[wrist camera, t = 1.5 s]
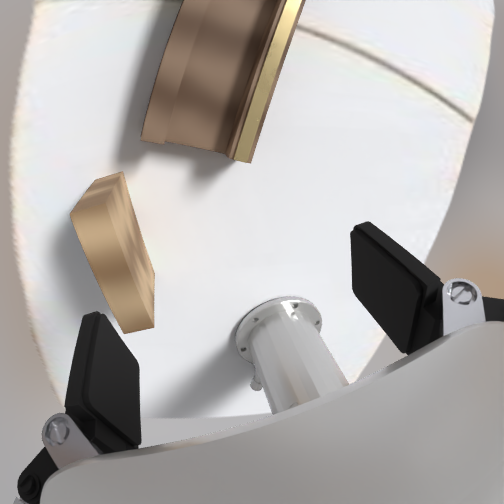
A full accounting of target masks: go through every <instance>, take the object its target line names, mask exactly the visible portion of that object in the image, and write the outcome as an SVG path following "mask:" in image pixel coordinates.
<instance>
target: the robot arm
mask: <svg viewBox="0 0 504 504" xmlns="http://www.w3.org/2000/svg"><path fill="white" fill-rule="evenodd" d="M350 238H351V261H352V289H353V292H354V294H355V296H356V297H357V298H358V300H359V301H360V302H361V303H362V304H363V306H364V307H365V308H366V309H367V310H368V312H369V313H370V314H371V315H372V317H373V318H374V319H375V320H376V322H377V323H378V324H379V325H380V326H381V328H382V329H383V330H384V331H385V333H386V334H387V335H388V336H389V337H390V339H391V340H392V341H393V343H394V344H395V345H396V346H397V348H398V349H399V350H400V351H401V352H402V353H406V354H407V355H408V356H406V357H404V358H402V359H400V360H398V361H396V362H394V363H393V364H391V365H389V366H387V367H385V368H383V369H381V370H379V371H377V372H375V373H373V374H371V375H369V376H367V377H365V378H363V379H360V380H358V381H356V382H354V383H352V384H350V385H349V383H348V381H347V380H346V378H345V376H344V375H343V373H342V371H341V370H340V368H339V366H338V365H337V363H336V361H335V360H334V358H333V356H332V354H331V353H330V351H329V349H328V348H327V346H326V344H325V343H324V341H323V339H322V338H321V336H320V334H319V333H320V331H321V326H322V318H321V315H320V313H319V311H318V309H317V308H316V307H315V306H314V304H313V303H311V302H310V301H308V300H306V299H303V298H299V297H283V298H278V299H274V300H271V301H268V302H266V303H264V304H262V305H260V306H258V307H257V308H256V309H254V310H253V311H251V312H250V313H249V314H248V315H247V316H246V317H245V318H244V319H243V321H242V322H241V323H240V325H239V327H238V329H237V332H236V336H235V340H236V346H237V349H238V351H239V353H240V355H241V356H242V357H243V358H244V359H245V360H247V361H248V362H251V363H253V364H254V366H255V376H254V377H253V379H252V381H251V384H250V386H251V388H252V389H253V390H255V391H259V390H261V389H262V387H263V389H264V392H265V395H266V397H267V400H268V403H269V406H270V408H271V411H272V414H273V415H271V416H268V417H265V418H262V419H259V420H256V421H253V422H249V423H246V424H243V425H239V426H236V427H233V428H229V429H226V430H222V431H218V432H215V433H211V434H207V435H203V436H199V437H194V438H190V439H186V440H181V441H177V442H172V443H166V444H161V445H156V446H151V447H145V448H140V449H138V445H140V444H141V424H140V423H141V422H140V383H139V364H138V362H137V360H136V358H135V357H134V356H133V354H132V353H131V352H130V350H129V349H128V347H127V346H126V345H125V343H124V342H123V340H122V339H121V338H120V336H119V335H118V333H117V332H116V330H115V329H114V327H113V326H112V324H111V323H110V321H109V320H108V318H107V317H106V316H105V314H100V313H99V312H98V311H96V312H93V313H90V314H87V315H84V316H83V318H82V322H81V326H80V330H79V334H78V338H77V343H76V347H75V351H74V356H73V361H72V366H71V371H70V376H69V381H68V387H67V393H66V399H65V406H64V407H65V408H66V412H65V414H64V413H58V414H55V415H53V416H52V417H50V418H49V419H48V420H47V422H46V423H45V425H44V427H43V430H42V441H43V443H44V445H45V447H44V448H43V449H42V450H41V451H40V453H39V454H38V455H37V456H36V457H35V458H34V459H33V461H32V462H31V463H30V464H29V465H28V466H27V468H25V470H24V471H23V472H22V473H21V475H20V477H19V479H18V486H17V488H18V493H19V495H20V499H19V498H17V497H16V499H15V501H14V504H504V299H497V298H489V297H482V295H481V292H480V289H479V288H478V287H477V286H476V285H475V284H474V283H472V282H471V281H469V280H466V279H461V278H457V279H452V280H449V281H448V282H446V283H445V285H444V284H443V283H442V282H441V281H440V278H439V277H438V276H437V275H435V274H434V273H433V272H432V271H431V270H430V269H429V268H427V267H426V266H425V265H424V264H423V263H421V262H420V261H419V260H418V259H417V258H415V257H414V256H413V255H412V254H410V253H409V252H408V251H407V250H405V249H404V248H403V247H402V246H400V245H399V244H398V243H397V242H395V241H394V240H393V239H392V238H390V237H389V236H388V235H386V234H385V233H384V232H383V231H381V230H380V229H379V228H377V227H376V226H375V225H373V224H372V223H371V222H369V221H368V222H364V223H361V224H358V225H356V226H354V229H353V231H351V233H350Z"/></svg>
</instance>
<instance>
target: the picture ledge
mask: <svg viewBox="0 0 504 504" xmlns="http://www.w3.org/2000/svg"><path fill="white" fill-rule="evenodd" d="M305 1H306V0H183V2H182V5H181V7H180V10H179V12H178V15H177V17H176V20H175V23H174V25H173V28H172V31H171V34H170V36H169V39H168V42H167V45H166V48H165V51H164V54H163V57H162V60H161V63H160V66H159V69H158V73H157V76H156V79H155V83H154V86H153V90H152V93H151V97H150V101H149V104H148V108H147V112H146V116H145V120H144V124H143V128H142V133H141V141H147V142H153V143H158V144H164V143H165V141H167V142H172V143H177V144H182V145H187V146H192V147H196V148H201V149H206V150H210V151H215V152H219V153H223V154H225V155H226V156H227V157H228V158H230V159H233V160H237V161H241V162H245V163H251V161H252V158H253V154H254V151H255V148H256V145H257V142H258V139H259V136H260V133H261V129H262V126H263V123H264V120H265V117H266V114H267V111H268V108H269V105H270V102H271V99H272V96H273V93H274V90H275V87H276V84H277V81H278V78H279V75H280V72H281V69H282V66H283V63H284V60H285V57H286V54H287V52H288V49H289V46H290V43H291V40H292V37H293V34H294V31H295V29H296V26H297V23H298V20H299V17H300V15H301V12H302V9H303V6H304V4H305Z"/></svg>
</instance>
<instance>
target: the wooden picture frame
mask: <svg viewBox="0 0 504 504" xmlns="http://www.w3.org/2000/svg"><path fill="white" fill-rule="evenodd" d="M70 217H71V220H72V222H73V225H74V228H75V230H76V233H77V235H78V238H79V240H80V243H81V245H82V248H83V250H84V253H85V255H86V257H87V260H88V262H89V264H90V266H91V269H92V271H93V273H94V275H95V278H96V280H97V282H98V284H99V286H100V288H101V290H102V292H103V295H104V297H105V299H106V301H107V303H108V305H109V307H110V309H111V311H112V313H113V314H114V316H115V318H116V320H117V322H118V324H119V326H120V328H121V330H122V331H123V333H124V334H127V333H132V332H136V331H141V330H146V329H150V328H154V279H155V273H154V270H153V267H152V264H151V261H150V259H149V256H148V253H147V250H146V247H145V244H144V241H143V238H142V235H141V231H140V228H139V225H138V222H137V219H136V215H135V212H134V209H133V206H132V202H131V199H130V195H129V192H128V188H127V185H126V181H125V177H124V174H123V172H119V173H116V174H113V175H109V176H106V177H103V178H100V179H96V180H95V181H94V182H93V183H92V185H91V186H90V187H89V188H88V190H87V191H86V192H85V194H84V195H83V196H82V198H81V199H80V200H79V202H78V203H77V204H76V206H75V207H74V209H73V210H72V211H71V213H70Z"/></svg>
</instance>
